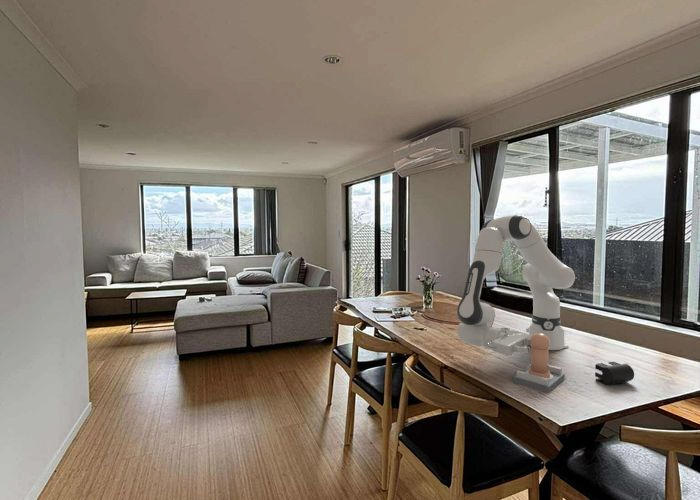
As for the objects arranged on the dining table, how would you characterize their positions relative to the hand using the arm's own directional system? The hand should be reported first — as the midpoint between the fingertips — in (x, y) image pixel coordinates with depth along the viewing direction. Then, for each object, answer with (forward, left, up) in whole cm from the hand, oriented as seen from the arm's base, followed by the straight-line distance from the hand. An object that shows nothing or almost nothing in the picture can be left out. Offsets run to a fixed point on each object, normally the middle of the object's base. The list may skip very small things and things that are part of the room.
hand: (533, 347), depth 136 cm
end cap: (-5, +27, -12) cm, 30 cm away
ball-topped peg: (+1, +2, -9) cm, 10 cm away
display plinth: (+1, +2, -12) cm, 12 cm away
